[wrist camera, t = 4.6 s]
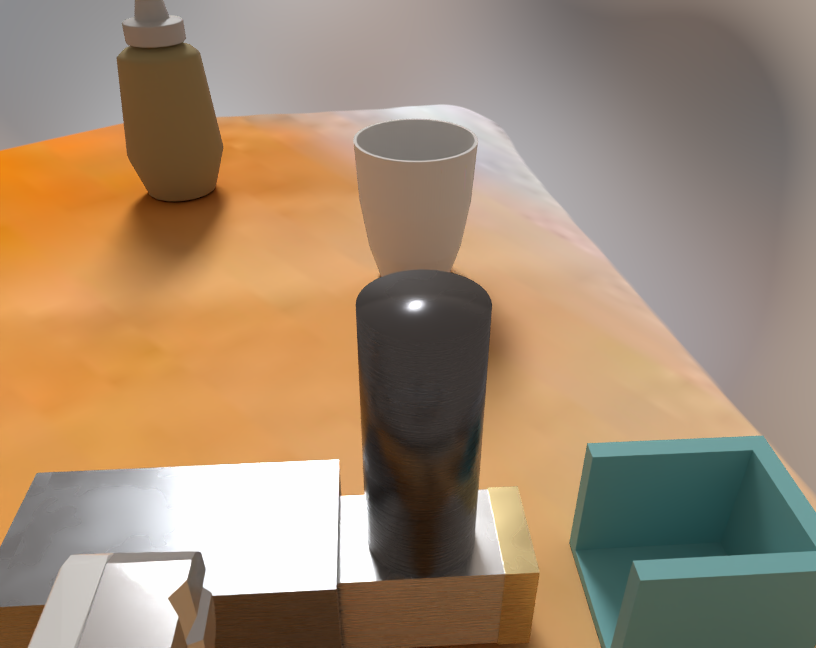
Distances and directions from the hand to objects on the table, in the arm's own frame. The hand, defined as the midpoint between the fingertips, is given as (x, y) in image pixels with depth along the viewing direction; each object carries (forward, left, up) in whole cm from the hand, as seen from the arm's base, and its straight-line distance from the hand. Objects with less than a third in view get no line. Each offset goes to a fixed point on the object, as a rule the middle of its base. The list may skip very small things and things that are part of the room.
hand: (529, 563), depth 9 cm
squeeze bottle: (+8, +59, -19) cm, 63 cm away
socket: (+15, +7, -19) cm, 25 cm away
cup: (+19, +36, -19) cm, 45 cm away
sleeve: (-3, +15, -19) cm, 24 cm away
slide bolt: (+1, +13, -18) cm, 22 cm away
